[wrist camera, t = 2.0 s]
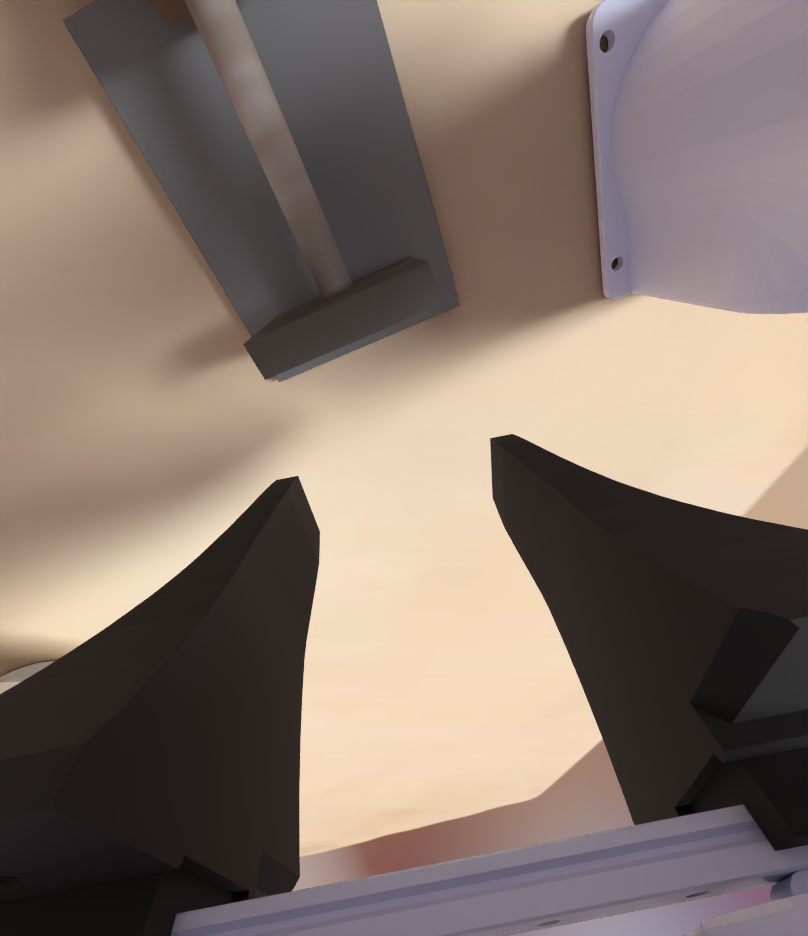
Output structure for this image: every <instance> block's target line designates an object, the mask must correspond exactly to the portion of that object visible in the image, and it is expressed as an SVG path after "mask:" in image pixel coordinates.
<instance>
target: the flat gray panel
mask: <svg viewBox="0 0 808 936" xmlns="http://www.w3.org/2000/svg"><path fill="white" fill-rule="evenodd" d="M235 1H236V3H237V6H238V8H239V10H240V13H241V15H242V18H243V20H244V23H245V25H246V27H247V30H248V32H249V35H250V37H251V39H252V42H253V44H254V47H255V49H256V52H257V54H258V56H259V59H260V61H261V64H262V66H263V68H264V71H265V73H266V76H267V78H268V81H269V83H270V85H271V88H272V90H273V93H274V95H275V97H276V100H277V102H278V105H279V107H280V109H281V112H282V114H283V117H284V119H285V122H286V124H287V126H288V129H289V131H290V134H291V136H292V138H293V141H294V143H295V146H296V148H297V151H298V153H299V155H300V158H301V160H302V163H303V165H304V167H305V170H306V172H307V175H308V177H309V180H310V182H311V184H312V187H313V189H314V192H315V194H316V196H317V199H318V201H319V204H320V206H321V209H322V211H323V213H324V216H325V218H326V221H327V223H328V225H329V228H330V230H331V233H332V235H333V238H334V240H335V242H336V245H337V247H338V250H339V252H340V254H341V257H342V259H343V262H344V264H345V266H346V269H347V271H348V274H349V276H350V279H351V281H352V282H353V281H356V280H358V279H360V278H362V277H364V276H367V275H369V274H371V273H373V272H376V271H378V270H380V269H382V268H384V267H387V266H389V265H391V264H393V263H396V262H398V261H400V260H402V259H405V258H407V257H413V258H416V259H420V260H424V261H428V262H429V265H430V268H431V271H432V275H433V278H434V281H435V285H436V288H437V291H438V295H439V298H440V301H441V305H439V306H437V307H434V308H432V309H430V310H427V311H425V312H423V313H420V314H418V315H416V316H413V317H411V318H409V319H406V320H404V321H402V322H399V323H397V324H395V325H392V326H390V327H388V328H385V329H383V330H381V331H378V332H376V333H374V334H371V335H369V336H367V337H364V338H362V339H360V340H357V341H355V342H353V343H350V344H348V345H346V346H343V347H341V348H339V349H336V350H334V351H332V352H329V353H327V354H325V355H322V356H320V357H318V358H315V359H313V360H311V361H308V362H306V363H304V364H301V365H299V366H297V367H294V368H292V369H290V370H287V371H285V372H283V373H280V374H278V375H276V378H277V379H278V381H279V382H281V381H284V380H286V379H288V378H291V377H293V376H295V375H298V374H300V373H302V372H305V371H307V370H309V369H312V368H314V367H316V366H319V365H321V364H323V363H326V362H328V361H330V360H333V359H335V358H337V357H340V356H342V355H345V354H347V353H349V352H352V351H354V350H356V349H359V348H361V347H363V346H366V345H368V344H370V343H373V342H375V341H377V340H380V339H382V338H384V337H387V336H389V335H391V334H394V333H396V332H398V331H401V330H403V329H405V328H408V327H410V326H413V325H415V324H417V323H420V322H422V321H424V320H427V319H429V318H431V317H434V316H436V315H438V314H441V313H443V312H445V311H448V310H450V309H452V308H455V307H457V306H459V305H460V304H459V301H458V297H457V293H456V290H455V286H454V282H453V279H452V275H451V271H450V268H449V264H448V260H447V257H446V253H445V249H444V246H443V242H442V238H441V235H440V231H439V227H438V224H437V220H436V216H435V213H434V209H433V205H432V202H431V198H430V194H429V191H428V187H427V183H426V180H425V176H424V172H423V169H422V165H421V162H420V158H419V154H418V151H417V147H416V143H415V140H414V136H413V132H412V129H411V125H410V121H409V118H408V114H407V110H406V107H405V103H404V99H403V96H402V92H401V88H400V85H399V81H398V77H397V74H396V70H395V66H394V63H393V59H392V55H391V52H390V48H389V44H388V41H387V37H386V33H385V30H384V26H383V22H382V19H381V15H380V11H379V8H378V4H377V0H235ZM63 22H64V23H65V25H66V27H67V28H68V30H69V32H70V33H71V35H72V37H73V38H74V40H75V42H76V43H77V45H78V47H79V48H80V50H81V52H82V53H83V55H84V57H85V58H86V60H87V62H88V63H89V65H90V67H91V68H92V70H93V72H94V73H95V75H96V77H97V78H98V80H99V82H100V83H101V85H102V87H103V88H104V90H105V92H106V93H107V95H108V97H109V99H110V100H111V102H112V104H113V105H114V107H115V109H116V110H117V112H118V114H119V115H120V117H121V119H122V120H123V122H124V124H125V125H126V127H127V129H128V130H129V132H130V134H131V135H132V137H133V139H134V140H135V142H136V144H137V145H138V147H139V149H140V150H141V152H142V154H143V155H144V157H145V159H146V160H147V162H148V164H149V165H150V167H151V169H152V170H153V172H154V174H155V175H156V177H157V179H158V180H159V182H160V184H161V185H162V187H163V189H164V190H165V192H166V194H167V195H168V197H169V199H170V200H171V202H172V204H173V205H174V207H175V209H176V211H177V212H178V214H179V216H180V217H181V219H182V221H183V222H184V224H185V226H186V227H187V229H188V231H189V232H190V234H191V236H192V237H193V239H194V241H195V242H196V244H197V246H198V247H199V249H200V251H201V252H202V254H203V256H204V257H205V259H206V261H207V262H208V264H209V266H210V267H211V269H212V271H213V272H214V274H215V276H216V277H217V279H218V281H219V282H220V284H221V286H222V287H223V289H224V291H225V292H226V294H227V296H228V297H229V299H230V301H231V302H232V304H233V306H234V307H235V309H236V311H237V312H238V314H239V316H240V317H241V319H242V321H243V323H244V324H245V326H246V328H247V329H248V331H249V333H250V334H251V336H254V335H255V334H256V333H257V332H258V331H259V330H261V329H262V328H263V327H264V326H265V325H266V324H268V323H269V322H270V321H271V320H272V319H273V318H275V317H276V316H278V315H280V314H282V313H284V312H287V311H289V310H291V309H293V308H295V307H298V306H300V305H302V304H304V303H307V302H309V301H311V300H313V299H316V298H318V297H320V296H322V295H321V293H320V291H319V289H318V287H317V284H316V282H315V280H314V278H313V276H312V274H311V272H310V269H309V267H308V265H307V263H306V261H305V259H304V256H303V254H302V252H301V250H300V248H299V246H298V244H297V241H296V239H295V237H294V235H293V233H292V231H291V228H290V226H289V224H288V222H287V220H286V218H285V216H284V213H283V211H282V209H281V207H280V205H279V203H278V201H277V198H276V196H275V194H274V192H273V190H272V188H271V185H270V183H269V181H268V179H267V177H266V175H265V173H264V170H263V168H262V166H261V164H260V162H259V160H258V157H257V155H256V153H255V151H254V149H253V147H252V145H251V142H250V140H249V138H248V136H247V134H246V132H245V130H244V127H243V125H242V123H241V121H240V119H239V117H238V114H237V112H236V110H235V108H234V106H233V104H232V102H231V99H230V97H229V95H228V93H227V91H226V89H225V86H224V84H223V82H222V80H221V78H220V76H219V74H218V71H217V69H216V67H215V65H214V63H213V61H212V59H211V56H210V54H209V52H208V50H207V48H206V46H205V43H204V41H203V39H202V37H201V35H200V33H199V31H198V28H197V26H196V24H195V22H194V20H193V18H192V16H189V17H188V18H186V19H184V20H182V21H181V22H179V23H177V24H175V25H173V26H172V27H170V26H169V24H168V23H167V22H166V21H165V20H164V19H163V18H162V16H161V15H160V14H159V13H158V12H157V11H156V10H155V9H154V7H153V6H152V5H151V4H150V3H149V2H148V1H147V0H96V1H94V2H93V3H91V4H89V5H88V6H86V7H84V8H83V9H81V10H79V11H78V12H76V13H74V14H72V15H71V16H69V17H67V18H66V19H64V20H63Z"/></svg>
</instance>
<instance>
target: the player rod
mask: <svg viewBox="0 0 808 936" xmlns="http://www.w3.org/2000/svg"><path fill="white" fill-rule="evenodd" d="M147 1H148V2H149V3H150V4H151V5H152V6H153V7H154V9H155V10H156V11H157V12H158V13H159V14H160V15H161V16H162V18H163V19H164V20H165V21H166V22H167V23H168V24H169V26H170V27H172V26H173V25H175V24H177V23H179V22H181V21H182V20H184V19H186V18H188V17H189V16H192V18H193V20H194V22H195V24H196V26H197V28H198V31H199V33H200V35H201V37H202V39H203V41H204V43H205V46H206V48H207V50H208V52H209V54H210V56H211V59H212V61H213V63H214V65H215V67H216V69H217V71H218V74H219V76H220V78H221V80H222V82H223V84H224V86H225V89H226V91H227V93H228V95H229V97H230V99H231V102H232V104H233V106H234V108H235V110H236V112H237V114H238V117H239V119H240V121H241V123H242V125H243V127H244V130H245V132H246V134H247V136H248V138H249V140H250V142H251V145H252V147H253V149H254V151H255V153H256V155H257V157H258V160H259V162H260V164H261V166H262V168H263V170H264V173H265V175H266V177H267V179H268V181H269V183H270V185H271V188H272V190H273V192H274V194H275V196H276V198H277V201H278V203H279V205H280V207H281V209H282V211H283V213H284V216H285V218H286V220H287V222H288V224H289V226H290V228H291V231H292V233H293V235H294V237H295V239H296V241H297V244H298V246H299V248H300V250H301V252H302V254H303V256H304V259H305V261H306V263H307V265H308V267H309V269H310V272H311V274H312V276H313V278H314V280H315V282H316V284H317V287H318V289H319V291H320V293H321V295H322V296H320V297H318V298H316V299H313V300H311V301H309V302H307V303H304V304H302V305H300V306H298V307H295V308H293V309H291V310H289V311H287V312H284V313H282V314H280V315H278V316H276V317H275V318H273V319H272V320H271V321H270V322H269V323H268V324H266V325H265V326H264V327H263V328H262V329H261V330H259V331H258V332H257V333H256V334H255V335H254V336H252V337H251V338H250V339H249V340H248V341H247V342H245V343H244V344H243V345H244V346H245V348H246V349H247V351H248V353H249V354H250V356H251V358H252V359H253V361H254V362H255V364H256V366H257V367H258V369H259V371H260V372H261V374H262V375H263V377H264V379H265V380H266V379H269V378H271V377H273V376H276V375H278V374H280V373H283V372H285V371H287V370H290V369H292V368H294V367H297V366H299V365H301V364H304V363H306V362H308V361H311V360H313V359H315V358H318V357H320V356H322V355H325V354H327V353H329V352H332V351H334V350H336V349H339V348H341V347H343V346H346V345H348V344H350V343H353V342H355V341H357V340H360V339H362V338H364V337H367V336H369V335H371V334H374V333H376V332H378V331H381V330H383V329H385V328H388V327H390V326H392V325H395V324H397V323H399V322H402V321H404V320H406V319H409V318H411V317H413V316H416V315H418V314H420V313H423V312H425V311H427V310H430V309H432V308H434V307H437V306H439V305H441V301H440V298H439V295H438V291H437V288H436V285H435V281H434V278H433V275H432V271H431V268H430V265H429V262H428V261H424V260H420V259H416V258H413V257H407V258H405V259H402V260H400V261H398V262H396V263H393V264H391V265H389V266H387V267H384V268H382V269H380V270H378V271H376V272H373V273H371V274H369V275H367V276H364V277H362V278H360V279H358V280H356V281H353V282H352V281H351V279H350V276H349V274H348V271H347V269H346V266H345V264H344V262H343V259H342V257H341V254H340V252H339V250H338V247H337V245H336V242H335V240H334V238H333V235H332V233H331V230H330V228H329V225H328V223H327V221H326V218H325V216H324V213H323V211H322V209H321V206H320V204H319V201H318V199H317V196H316V194H315V192H314V189H313V187H312V184H311V182H310V180H309V177H308V175H307V172H306V170H305V167H304V165H303V163H302V160H301V158H300V155H299V153H298V151H297V148H296V146H295V143H294V141H293V138H292V136H291V134H290V131H289V129H288V126H287V124H286V122H285V119H284V117H283V114H282V112H281V109H280V107H279V105H278V102H277V100H276V97H275V95H274V93H273V90H272V88H271V85H270V83H269V81H268V78H267V76H266V73H265V71H264V68H263V66H262V64H261V61H260V59H259V56H258V54H257V52H256V49H255V47H254V44H253V42H252V39H251V37H250V35H249V32H248V30H247V27H246V25H245V23H244V20H243V18H242V15H241V13H240V10H239V8H238V6H237V3H236V1H235V0H147Z"/></svg>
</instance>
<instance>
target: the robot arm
mask: <svg viewBox="0 0 808 936" xmlns="http://www.w3.org/2000/svg"><path fill="white" fill-rule="evenodd" d="M603 35H604V36H605V37H607V39H608V49H607V51H606V53H604V52H602V51H601V49H600V39H601V37H602V36H603ZM586 41H587V56H588V71H589V86H590V101H591V117H592V132H593V147H594V162H595V177H596V192H597V207H598V222H599V237H600V252H601V268H602V283H603V293H604V295H605V297H606V298H610V299H619V298H621V297H624V296H626V295H629V294H631V293H633V294H639V295H644V296H650V297H655V298H661V299H666V300H672V301H677V302H683V303H688V304H694V305H699V306H704V307H710V308H715V309H721V310H726V311H732V312H740V313H751V314H790V313H807V312H808V0H603V1H601V2H600V3H599V4H598V5H597V6H596V7H595V8H594V9H593V11H592V12H591V14H590V15H589V18H588V21H587V25H586ZM615 258H617V260H618V264H617V266H616V267H615V268H614V269H613V270H612V267H611V265H612V262H613V260H614V259H615ZM490 441H491V466H492V491H493V499H494V502H495V505H496V507H497V510H498V513H499V515H500V518H501V520H502V522H503V525H504V527H505V529H506V531H507V533H508V535H509V536H510V538H511V540H512V542H513V544H514V545H515V547H516V549H517V551H518V553H519V554H520V556H521V558H522V560H523V561H524V563H525V565H526V567H527V569H528V570H529V572H530V574H531V576H532V577H533V579H534V581H535V583H536V584H537V586H538V588H539V590H540V592H541V593H542V595H543V597H544V599H545V601H546V603H547V605H548V607H549V609H550V611H551V614H552V616H553V618H554V621H555V623H556V625H557V627H558V630H559V632H560V634H561V637H562V639H563V641H564V643H565V646H566V648H567V651H568V653H569V655H570V658H571V660H572V663H573V665H574V667H575V670H576V672H577V675H578V677H579V680H580V682H581V684H582V687H583V689H584V692H585V694H586V697H587V699H588V702H589V705H590V707H591V710H592V712H593V715H594V717H595V720H596V722H597V725H598V727H599V730H600V733H601V735H602V738H603V740H604V743H605V745H606V748H607V751H608V754H609V757H610V759H611V762H612V765H613V767H614V770H615V773H616V775H617V778H618V781H619V783H620V786H621V789H622V792H623V794H624V797H625V800H626V803H627V805H628V808H629V811H630V814H631V817H632V820H633V822H634V824H635V825H634V826H629V827H623V828H618V829H613V830H608V831H603V832H597V833H592V834H587V835H583V836H577V837H572V838H567V839H561V840H556V841H551V842H546V843H540V844H535V845H531V846H525V847H520V848H515V849H509V850H504V851H499V852H494V853H489V854H484V855H478V856H473V857H468V858H463V859H458V860H452V861H447V862H442V863H437V864H432V865H427V866H422V867H416V868H411V869H406V870H401V871H395V872H390V873H386V874H380V875H375V876H370V877H365V878H359V879H354V880H349V881H344V882H339V883H333V884H328V885H323V886H318V887H313V888H307V889H302V890H297V891H292V890H293V888H294V887H295V885H296V883H297V881H298V879H299V877H300V863H299V778H300V734H301V709H302V689H303V672H304V657H305V648H306V640H307V634H308V628H309V622H310V616H311V610H312V604H313V598H314V592H315V585H316V579H317V573H318V566H319V546H320V531H319V528H318V526H317V523H316V521H315V518H314V516H313V513H312V511H311V508H310V505H309V503H308V500H307V498H306V495H305V493H304V490H303V488H302V485H301V482H300V480H299V477H298V476H295V477H290V478H285V479H280V480H276V481H275V482H274V483H272V484H271V485H270V486H269V487H268V488H267V489H266V490H265V491H264V492H263V493H262V494H261V495H260V496H259V497H258V498H257V499H256V500H255V501H254V502H253V504H252V505H251V506H250V507H249V508H248V509H247V510H246V511H245V512H244V513H243V514H242V515H241V516H240V517H239V518H238V519H237V520H236V521H235V522H234V523H233V524H232V525H231V526H230V527H229V528H228V529H227V530H226V531H225V532H224V533H223V534H222V535H221V536H220V537H219V538H218V539H217V540H216V541H214V542H213V543H212V544H211V545H210V546H209V547H208V548H207V549H206V550H205V551H204V552H203V553H202V554H201V555H200V556H199V557H197V558H196V559H195V560H194V561H193V562H192V563H191V564H190V565H188V566H187V567H186V568H185V569H184V570H182V571H181V572H180V573H179V574H178V575H176V576H175V577H174V578H173V579H171V580H170V581H169V582H168V583H167V584H165V585H164V586H163V587H162V588H160V589H159V590H158V591H157V592H155V593H154V594H153V595H151V596H150V597H149V598H147V599H146V600H144V601H143V602H142V603H140V604H139V605H138V606H136V607H135V608H133V609H132V610H131V611H129V612H128V613H126V614H125V615H124V616H122V617H121V618H119V619H118V620H117V621H115V622H114V623H112V624H111V625H110V626H108V627H107V628H105V629H104V630H103V631H101V632H100V633H98V634H97V635H95V636H94V637H92V638H90V639H89V640H87V641H86V642H84V643H83V644H81V645H80V646H78V647H77V648H75V649H74V650H72V651H71V652H69V653H67V654H66V655H64V656H63V657H61V658H59V659H58V660H56V661H55V662H53V663H51V664H50V665H48V666H47V667H45V668H43V669H42V670H40V671H38V672H37V673H35V674H34V675H32V676H30V677H28V678H27V679H25V680H23V681H22V682H20V683H18V684H17V685H15V686H13V687H12V688H10V689H8V690H6V691H5V692H3V693H1V694H0V936H509V935H514V934H519V933H525V932H530V931H535V930H540V929H545V928H551V927H556V926H561V925H566V924H571V923H577V922H582V921H587V920H591V919H597V918H602V917H608V916H613V915H618V914H623V913H628V912H634V911H638V910H643V909H649V908H654V907H659V906H664V905H670V904H675V903H680V902H686V901H691V900H696V899H701V898H706V897H712V896H717V895H722V894H727V893H732V892H737V891H743V890H748V889H753V888H758V887H763V886H769V885H773V886H772V889H771V893H770V899H771V902H769V903H766V904H762V905H758V906H754V907H751V908H747V909H743V910H739V911H735V912H731V913H728V914H724V915H720V916H716V917H712V918H709V919H705V920H702V921H701V925H700V927H699V928H697V929H696V930H694V931H692V932H690V933H689V934H687V935H684V936H808V530H806V529H800V528H795V527H790V526H785V525H780V524H775V523H770V522H764V521H759V520H754V519H749V518H745V517H740V516H736V515H731V514H727V513H722V512H718V511H714V510H710V509H706V508H702V507H699V506H695V505H691V504H687V503H683V502H679V501H676V500H672V499H669V498H665V497H662V496H659V495H656V494H653V493H650V492H647V491H644V490H640V489H637V488H634V487H631V486H628V485H626V484H623V483H620V482H617V481H615V480H612V479H610V478H607V477H605V476H602V475H600V474H597V473H595V472H593V471H590V470H588V469H585V468H583V467H581V466H579V465H576V464H574V463H572V462H570V461H568V460H566V459H563V458H561V457H559V456H557V455H555V454H553V453H551V452H549V451H547V450H545V449H543V448H541V447H539V446H537V445H535V444H533V443H531V442H529V441H527V440H525V439H523V438H521V437H518V436H516V435H513V434H510V435H505V436H500V437H495V438H490ZM774 884H775V885H774ZM291 891H292V892H291Z"/></svg>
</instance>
